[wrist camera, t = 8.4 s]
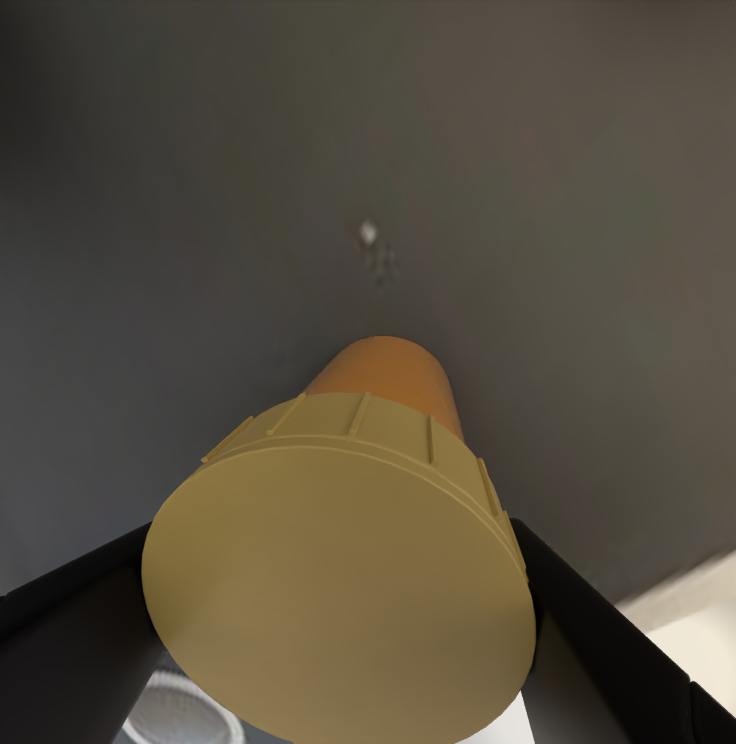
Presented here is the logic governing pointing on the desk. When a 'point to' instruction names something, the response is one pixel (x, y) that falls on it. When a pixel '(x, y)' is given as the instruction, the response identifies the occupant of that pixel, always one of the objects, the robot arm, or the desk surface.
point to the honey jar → (392, 377)
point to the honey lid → (343, 577)
